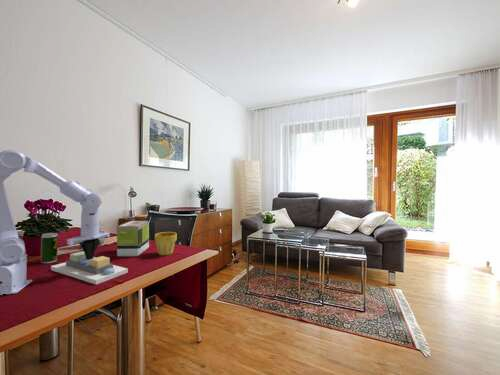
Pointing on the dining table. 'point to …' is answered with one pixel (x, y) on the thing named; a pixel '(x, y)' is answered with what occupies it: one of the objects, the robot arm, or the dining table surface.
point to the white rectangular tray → (89, 271)
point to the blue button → (85, 261)
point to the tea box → (132, 238)
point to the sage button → (77, 256)
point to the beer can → (49, 248)
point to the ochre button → (99, 262)
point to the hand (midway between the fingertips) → (89, 258)
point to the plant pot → (165, 242)
